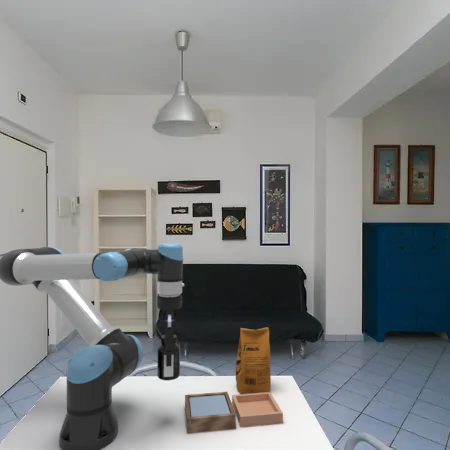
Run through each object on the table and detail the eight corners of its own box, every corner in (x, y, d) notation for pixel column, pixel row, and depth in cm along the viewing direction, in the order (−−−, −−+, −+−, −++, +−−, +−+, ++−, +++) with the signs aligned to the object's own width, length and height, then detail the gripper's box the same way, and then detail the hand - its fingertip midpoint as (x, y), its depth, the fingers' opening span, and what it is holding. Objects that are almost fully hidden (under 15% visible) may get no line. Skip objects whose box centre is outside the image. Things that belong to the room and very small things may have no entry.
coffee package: (234, 382, 127) (235, 324, 127) (267, 381, 127) (267, 323, 127) (237, 395, 117) (237, 332, 117) (272, 394, 117) (272, 331, 117)
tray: (240, 427, 98) (240, 416, 98) (232, 404, 111) (232, 395, 111) (282, 423, 100) (282, 413, 100) (269, 400, 113) (270, 392, 113)
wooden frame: (187, 433, 95) (187, 419, 95) (184, 407, 109) (184, 394, 109) (235, 428, 97) (235, 414, 97) (227, 403, 111) (227, 391, 111)
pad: (191, 420, 97) (191, 417, 97) (189, 400, 108) (189, 397, 108) (230, 417, 98) (230, 413, 98) (224, 397, 110) (224, 394, 110)
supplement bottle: (182, 371, 104) (182, 333, 104) (176, 382, 98) (177, 340, 98) (160, 370, 105) (161, 332, 105) (153, 380, 98) (154, 339, 98)
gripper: (183, 301, 92) (182, 385, 92) (181, 288, 112) (179, 357, 112) (155, 302, 91) (154, 386, 91) (158, 288, 111) (156, 358, 111)
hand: (168, 370), depth 101 cm, fingers closed on supplement bottle, 7 cm apart
